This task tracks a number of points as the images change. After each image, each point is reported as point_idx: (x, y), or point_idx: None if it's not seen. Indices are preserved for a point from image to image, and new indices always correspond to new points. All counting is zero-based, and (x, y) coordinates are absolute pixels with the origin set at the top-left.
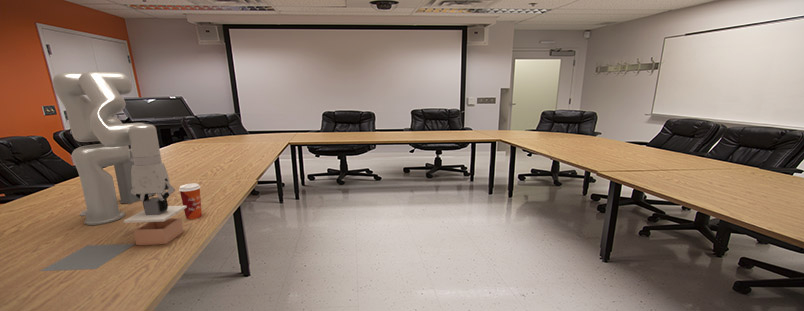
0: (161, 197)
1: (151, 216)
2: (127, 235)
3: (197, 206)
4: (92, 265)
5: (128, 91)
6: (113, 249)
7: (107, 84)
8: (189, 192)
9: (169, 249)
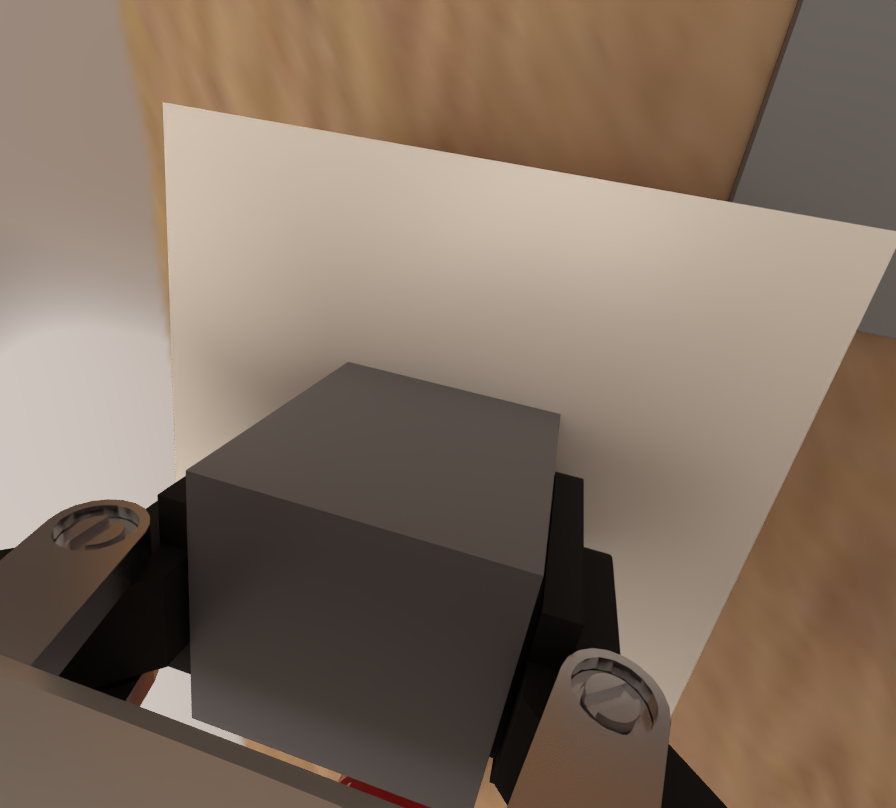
0: (43, 553)
1: (433, 315)
2: (859, 560)
3: (341, 779)
4: None
5: None
6: (892, 205)
7: None
8: None
9: (345, 112)
